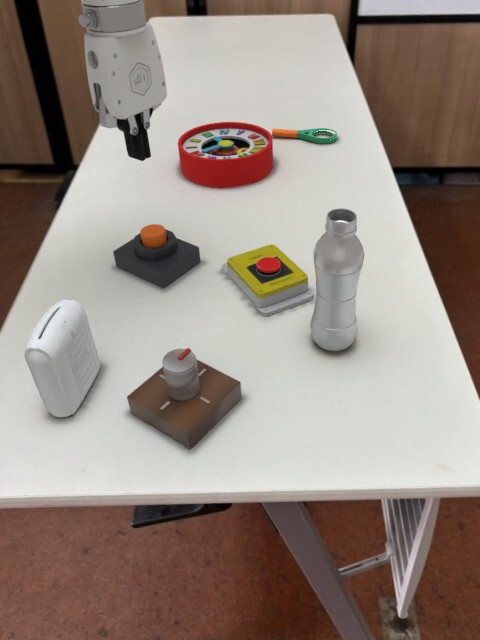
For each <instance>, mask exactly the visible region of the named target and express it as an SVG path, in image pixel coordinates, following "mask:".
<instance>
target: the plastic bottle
mask: <svg viewBox="0 0 480 640" xmlns="http://www.w3.org/2000/svg"><path fill="white" fill-rule="evenodd" d="M357 222H358V216H357V214H356V212H355V211H353V210H351V209H348V208H334V209H331V210H329V211H328V212H327V213H326V219H325V224H324V230H325V232H324V233H323V234H322V235H321V237H320V238H319V239H318V240H317V241H316V243H315V245H314V248H313V251H312V252H313V253H312V254H313V264H314V273H315V293H316V294H315V301H314V307H313V313H312V316H311V319H310V324H309V325H310V326H309V327H310V328H309V329H310V332H311V337H312V340H313V341H314V342H315V344H317V345H318V347H320V348H322V349H323V350H325V351H329V352H340V351H344V350H346V349H348V347H350V346H351V345H352V344H353V343H354V342H355V339H356V336H357V333H358V320H357V314H356V313H357V311H356V309H357V304H356V303H357V299H356V298H357V291H358V286H359V280H360V276H361V272H362V269H363V265H364V261H365V250H364V246H363V243H362V242H361V240H360V238H359V237H358V236H357V235H356V233H357V231H358V225H357Z"/></svg>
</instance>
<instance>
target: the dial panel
mask: <svg viewBox="0 0 480 640" xmlns="http://www.w3.org/2000/svg"><path fill="white" fill-rule="evenodd" d="M196 360H197V367H198V374H199V382H200V391H199V393H198V394H197V395H196V396H195V397H194V398H192V399H190V400H186V401H179V400H175V399H173V398H172V397H170V395H169V393H168V389H167V384H166V379H165V374H164V369H163V366H162V367H161V368H159V369H158V370H157V371H155V372H154V373H153V374H152V375H151V376H150V377H149V378H147V379H146V380H145V381H144V382H142V383H141V384H140V385H139V386H138V387H137V388H135V389H134V390H133V391H132V392H131V393H129V394H128V395H127V396H126V399H127V404H128V407H129V410H130V413H131V414H132V415H134V416H136V417H137V418H139V419H140V420H141V421H144V422H145V423H147V424H149V425H150V426H151V427H153V428H154V429H157V430H158V431H159V432H161V433H163V434H165V435H167V436H168V437H170V438H171V439H173V440H174V441H176V442H178V443H179V444H181V445H183V446H184V447H186V448H188V449H189V450H191V449H193V447H194V446H196V445H197V443H198V442H199V441H201V440H202V439H203V437H204V436H205V435H206V434H208V432H209V431H210V430H212V428H214V426H215V425H216V424H218V422H220V420H221V419H223V418H224V416H225V415H226V414H227V413H228V412H230V411H231V409H232V408H234V407H235V405H236V404H237V403H238V402H239V401H240V400H242V398H243V397H242V383H241V381H240V380H237V379H236V378H234V377H232V376H230V375H228V374H226V373H224V372H222V371H220V370H218V369H216V368H215V367H213V366H210V365H209V364H208V363H207V364H206V363H205V362H204V361H201V360H199V359H198V358H196Z"/></svg>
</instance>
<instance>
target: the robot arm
mask: <svg viewBox="0 0 480 640" xmlns="http://www.w3.org/2000/svg"><path fill="white" fill-rule="evenodd" d="M80 4H81V10H82V14H80V15H79V16H78V17H77V19H78V23H79V25H80V26H81V27H82V28H85V29H86V32H85V33H83V37H84V39H83V40H84V58H85V66H86V76H87V83H88V87H89V92H90V97H91V101H92V105H93V107H94V110H95V112H96V113H98V114H99V126H101V127H103V128H106V129H115V128H116V129H118V131H120V132H122V133H123V137H124V142H125V148H126V152H127V156H128V157H129V158H131V159H135V160H137V161H141V162H144V161H145V160H147V159H149V158H151V157H152V153H151V146H150V140H149V135H148V133H149V132H148V130H149V129H150V127H151V118H152V116H153V113H154V112H155V111H156V110H157V109H158V108H159V107H161V105H162V103H164V101H165V100H166V99H167V96H168V88H167V81H166V75H165V69H164V65H163V64H164V63H163V60H162V56H161V55H162V54H161V52H160V51H161V50H160V47H159V44H158V40H157V36H156V34H155V30H154V28H153V25H152V24H151V23H150V22H147V17H146V11H145V3H144V0H80Z"/></svg>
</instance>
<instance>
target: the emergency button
mask: <svg viewBox="0 0 480 640" xmlns="http://www.w3.org/2000/svg"><path fill="white" fill-rule="evenodd" d="M221 271H222V273H223V274H224V276H226V277H227V279H228V280H229V281H230V282H231V283H232V285H234V286H235V288H237V290H238V291H239V292H240V293H241V294H242V295H243V297H245V298H246V300H247V301H248V302H249V303H250V304H251V305H252V306H253V308H254V309H255V310H256V311H257V312H258V313H259V315H260V316H262V317H270V316H273V315H276V314H279V313H282V312H284V311H287V310H289V309H292V308H294V307H297V306H299V305H302V304H304V303H305V304H306V303H308V302H310V301H312V300H313V299H314V292H313V290H311V288H309V276H308V274H307V273H306V272H305V271H304V270H303V269H301V268H300V267H299V266H298V265H297V264H296V263H295V262H294V261H293V260H292V259H291V258H290V257H289V256H287V254H285V252H283V250H281V249H280V248H279V247H278V246H277V245H276V244H267V245H264V246H260V247H258V248H254V249H252V250H249V251H245V252H242V253H239V254H236V255H234V256H229V258H227V261H226V263H224V264H222V265H221Z"/></svg>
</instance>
